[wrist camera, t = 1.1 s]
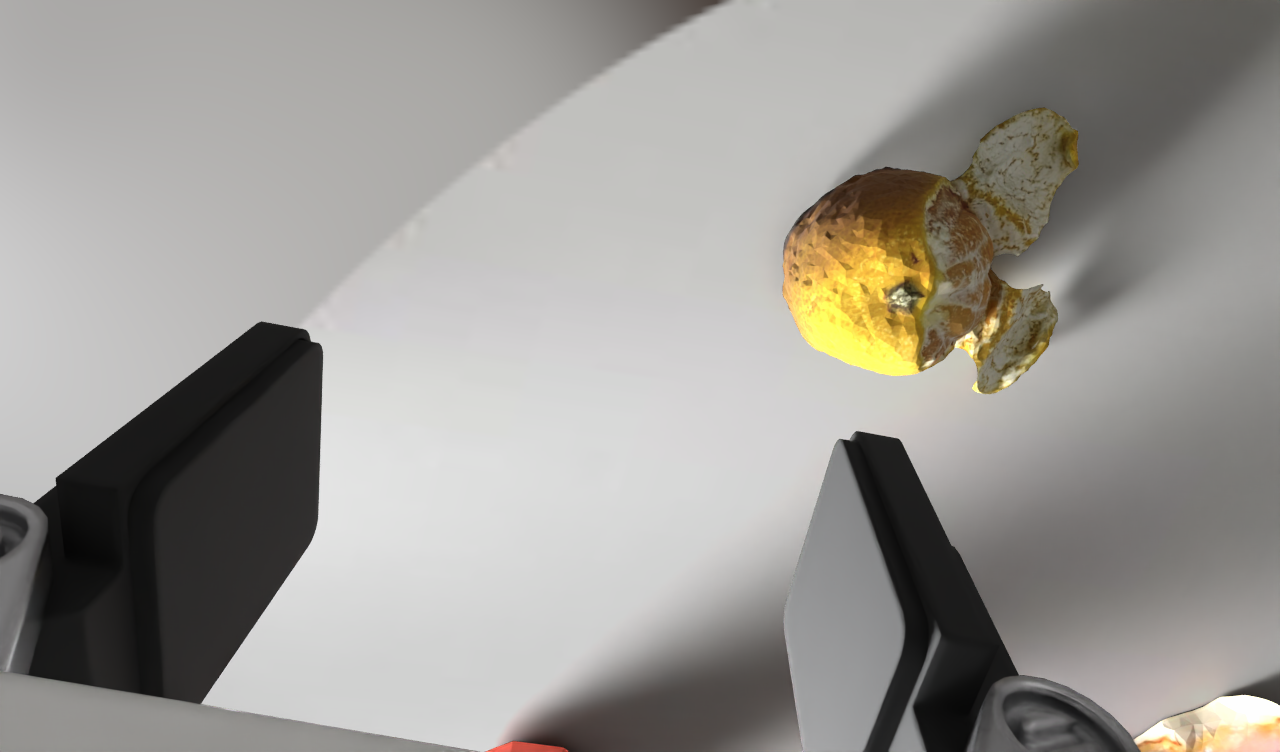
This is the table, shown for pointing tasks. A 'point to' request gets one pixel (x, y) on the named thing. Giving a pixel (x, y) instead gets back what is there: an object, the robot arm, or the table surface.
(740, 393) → the table surface
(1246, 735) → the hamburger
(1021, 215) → the fruit
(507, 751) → the beverage can
